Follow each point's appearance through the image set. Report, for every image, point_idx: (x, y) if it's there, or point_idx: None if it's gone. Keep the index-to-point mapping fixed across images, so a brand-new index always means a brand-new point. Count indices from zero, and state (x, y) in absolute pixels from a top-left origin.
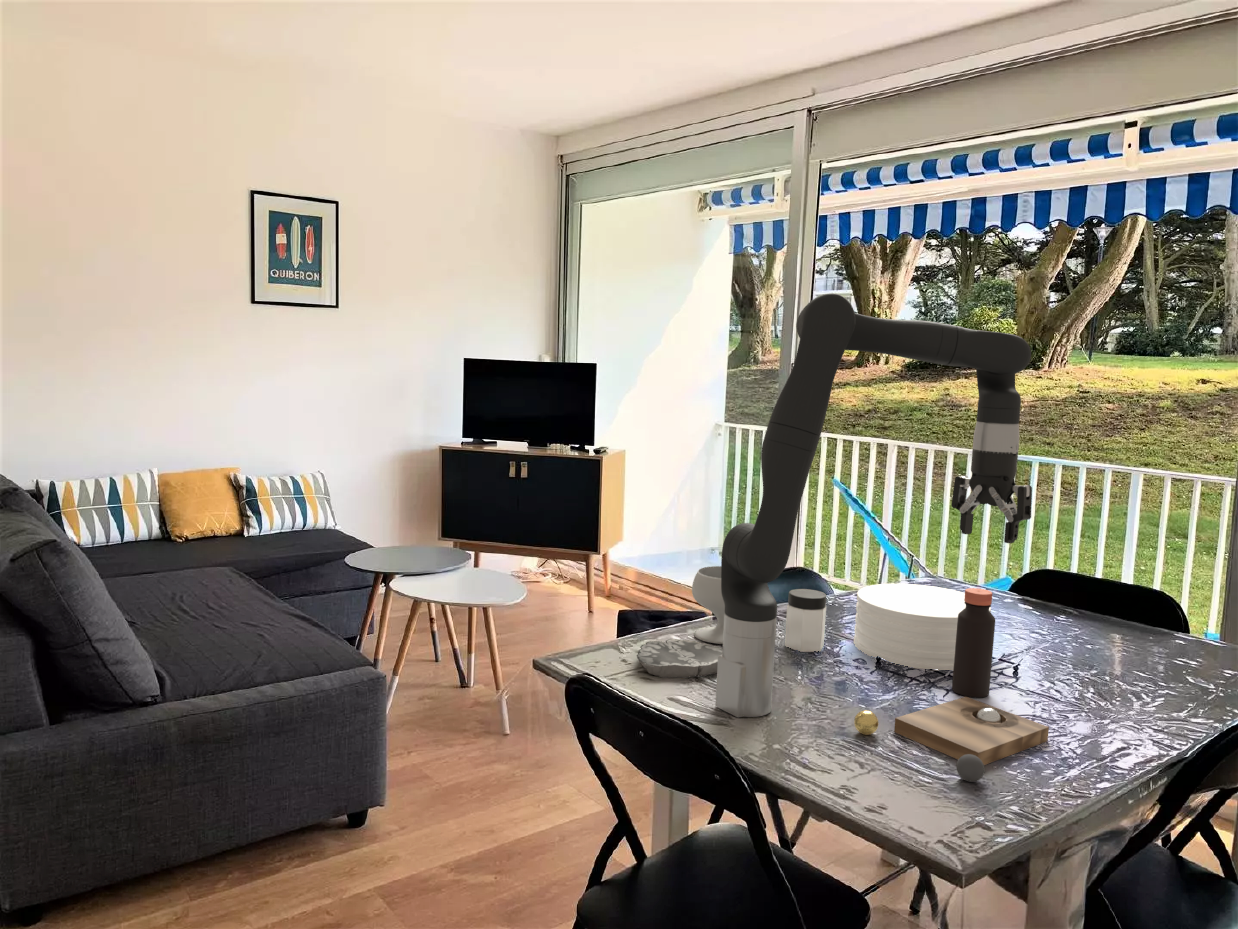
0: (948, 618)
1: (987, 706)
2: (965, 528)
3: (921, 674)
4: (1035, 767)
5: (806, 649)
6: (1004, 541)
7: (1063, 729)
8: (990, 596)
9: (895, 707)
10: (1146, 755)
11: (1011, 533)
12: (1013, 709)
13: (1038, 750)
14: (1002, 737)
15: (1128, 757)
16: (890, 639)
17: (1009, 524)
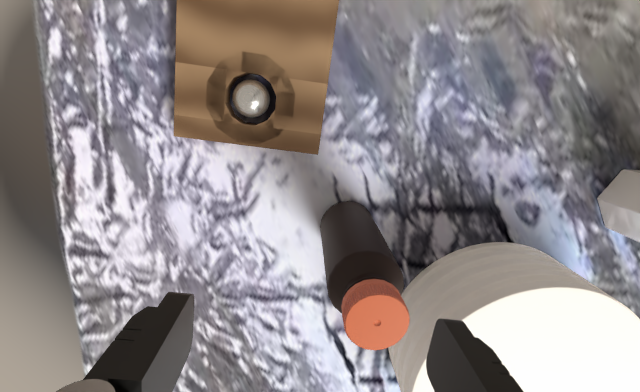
0: None
1: (274, 140)
2: (451, 337)
3: (431, 236)
4: (140, 20)
5: (618, 178)
6: (190, 294)
7: (191, 196)
8: (343, 318)
9: (393, 69)
10: (80, 197)
11: (133, 334)
12: (272, 212)
13: (171, 88)
14: (191, 28)
15: (89, 170)
16: (513, 259)
17: (114, 370)
